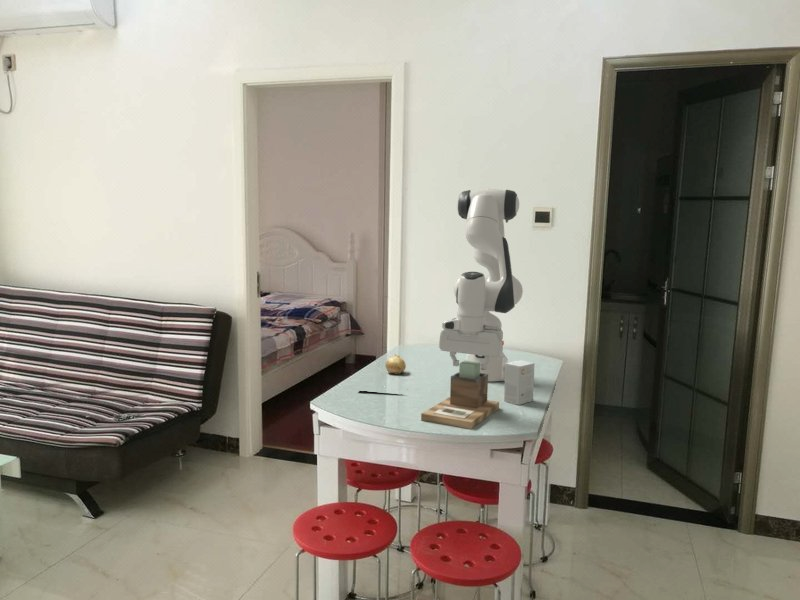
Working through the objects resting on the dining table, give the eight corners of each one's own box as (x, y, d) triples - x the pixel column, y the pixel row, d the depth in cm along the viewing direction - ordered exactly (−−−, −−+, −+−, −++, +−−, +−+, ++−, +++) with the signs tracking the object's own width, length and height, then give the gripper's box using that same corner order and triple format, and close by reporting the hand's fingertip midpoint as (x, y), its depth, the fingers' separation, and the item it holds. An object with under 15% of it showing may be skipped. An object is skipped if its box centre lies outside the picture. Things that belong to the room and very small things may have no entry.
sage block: (465, 375, 205) (465, 360, 204) (479, 377, 202) (480, 362, 202) (459, 378, 200) (459, 363, 200) (474, 380, 198) (474, 365, 197)
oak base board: (452, 400, 211) (453, 368, 210) (499, 408, 204) (500, 374, 203) (421, 420, 190) (421, 384, 189) (471, 428, 183) (472, 391, 182)
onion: (408, 374, 247) (408, 356, 246) (389, 376, 245) (389, 357, 244) (401, 370, 255) (401, 352, 254) (382, 371, 252) (382, 353, 251)
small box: (518, 397, 217) (519, 359, 216) (533, 401, 213) (535, 362, 211) (503, 401, 212) (504, 363, 210) (519, 405, 207) (520, 366, 206)
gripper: (506, 325, 197) (504, 369, 199) (445, 320, 207) (444, 362, 208) (499, 328, 192) (498, 373, 193) (437, 322, 201) (436, 365, 203)
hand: (469, 367), depth 201 cm, fingers open, 8 cm apart
